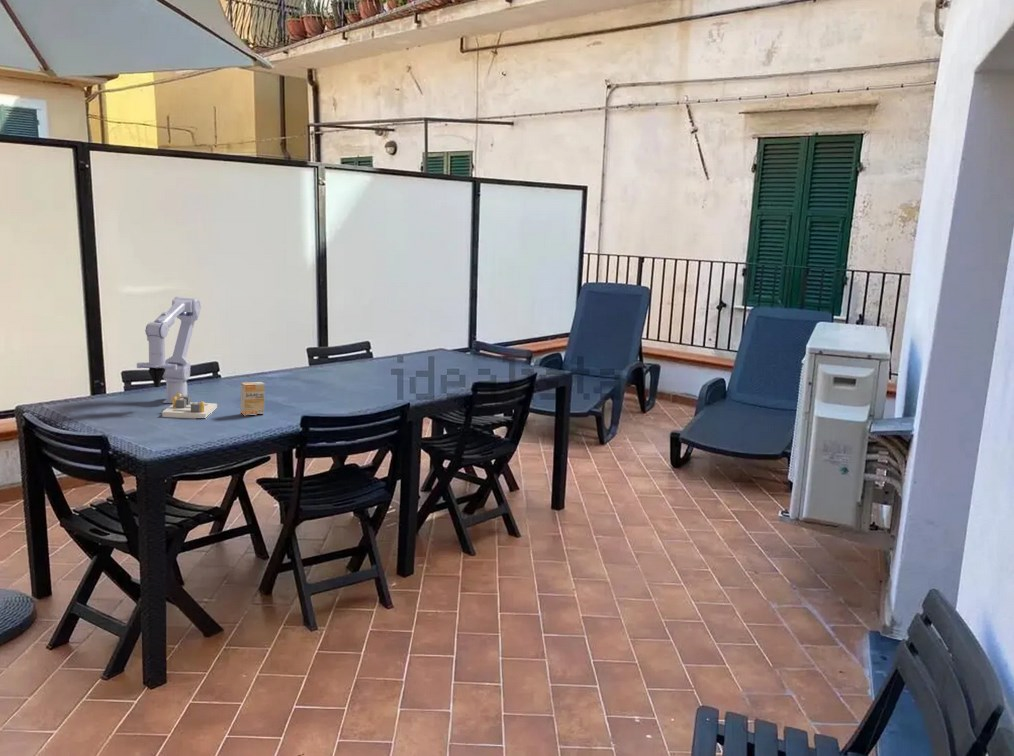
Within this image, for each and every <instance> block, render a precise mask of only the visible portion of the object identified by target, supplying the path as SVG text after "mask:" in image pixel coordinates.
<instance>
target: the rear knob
mask: <svg viewBox="0 0 1014 756" xmlns="http://www.w3.org/2000/svg"><path fill="white" fill-rule="evenodd" d="M180 398H183V399H186V405H188V404H190V402H191V395H188V394H187V395H183V396H181V397H180Z"/></svg>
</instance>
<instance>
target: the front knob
mask: <svg viewBox="0 0 1014 756" xmlns="http://www.w3.org/2000/svg"><path fill="white" fill-rule="evenodd" d="M191 412H200V402H198V401H195V402H194V403H192V404H191Z"/></svg>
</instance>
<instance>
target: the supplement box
mask: <svg viewBox="0 0 1014 756" xmlns="http://www.w3.org/2000/svg"><path fill="white" fill-rule="evenodd" d="M265 385H266V383H264V382H262V381H257V382H256V381H254V382H253V381H252V382H250V381H249V382H241V383H240V413H239V414H241V413H242V414H243V415H250V414H259V413H264V414H265V394H266V393H265V390H266V387H265ZM242 414H241V415H242ZM243 415H242V416H243Z"/></svg>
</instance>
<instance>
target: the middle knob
mask: <svg viewBox="0 0 1014 756" xmlns="http://www.w3.org/2000/svg"><path fill="white" fill-rule="evenodd" d="M185 407H186V399H183V398H180V399H177V400H176V408H185Z"/></svg>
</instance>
